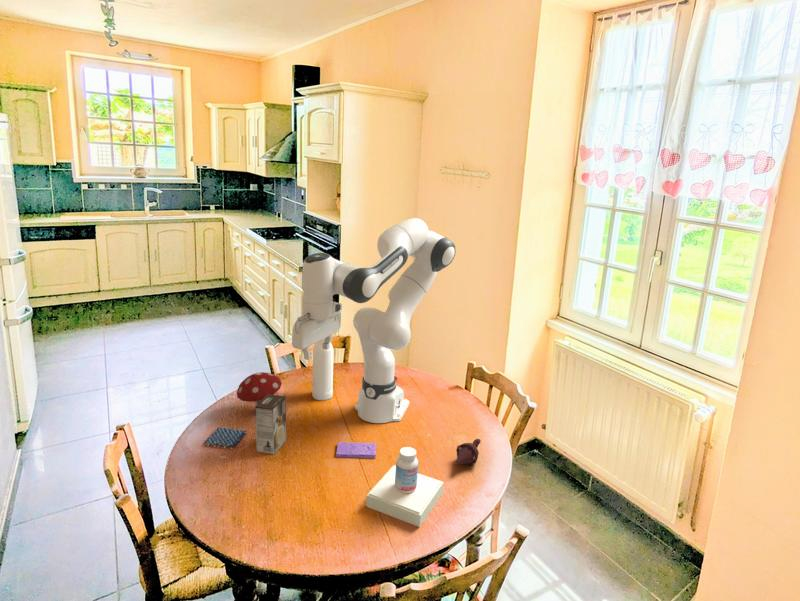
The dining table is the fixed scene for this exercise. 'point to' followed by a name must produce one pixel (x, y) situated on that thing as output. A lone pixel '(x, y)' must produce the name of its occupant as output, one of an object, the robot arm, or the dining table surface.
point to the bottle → (322, 372)
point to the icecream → (468, 453)
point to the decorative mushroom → (258, 387)
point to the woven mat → (225, 438)
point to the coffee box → (270, 423)
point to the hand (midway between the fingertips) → (317, 353)
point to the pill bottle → (406, 470)
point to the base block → (405, 498)
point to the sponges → (356, 450)
